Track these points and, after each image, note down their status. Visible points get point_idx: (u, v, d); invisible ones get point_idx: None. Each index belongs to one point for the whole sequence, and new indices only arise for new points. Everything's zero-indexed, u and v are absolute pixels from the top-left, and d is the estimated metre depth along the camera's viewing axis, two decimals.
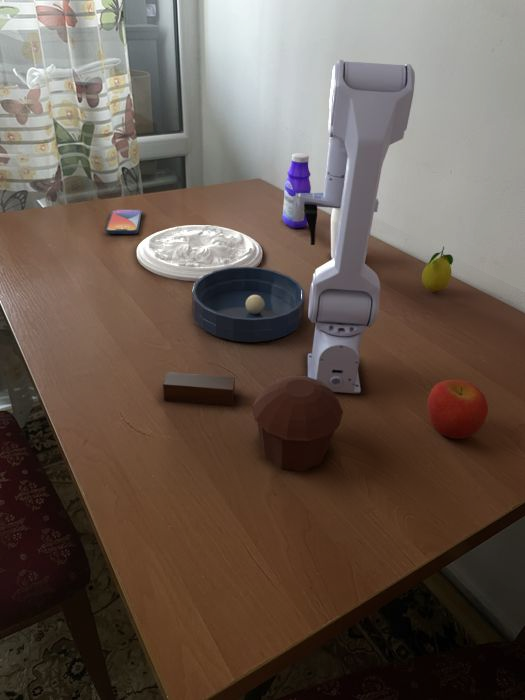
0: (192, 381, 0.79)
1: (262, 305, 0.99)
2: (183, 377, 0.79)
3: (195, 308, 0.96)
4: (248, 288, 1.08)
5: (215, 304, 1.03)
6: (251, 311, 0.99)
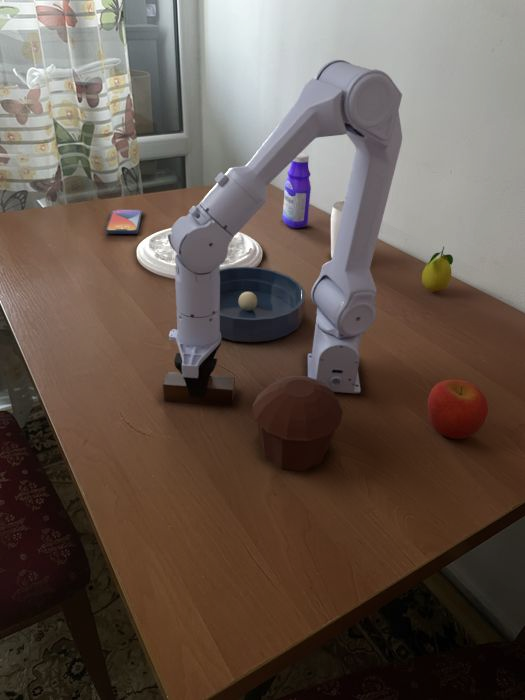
0: None
1: (250, 294, 1.00)
2: None
3: None
4: (248, 288, 1.08)
5: None
6: (245, 305, 0.99)
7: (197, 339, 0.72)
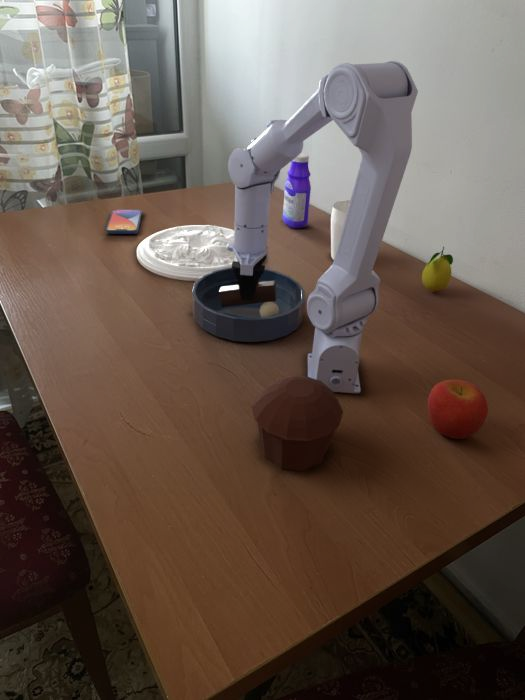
0: None
1: None
2: (234, 286, 0.99)
3: (195, 308, 0.96)
4: None
5: (215, 304, 1.03)
6: (260, 313, 0.98)
7: (251, 247, 0.91)
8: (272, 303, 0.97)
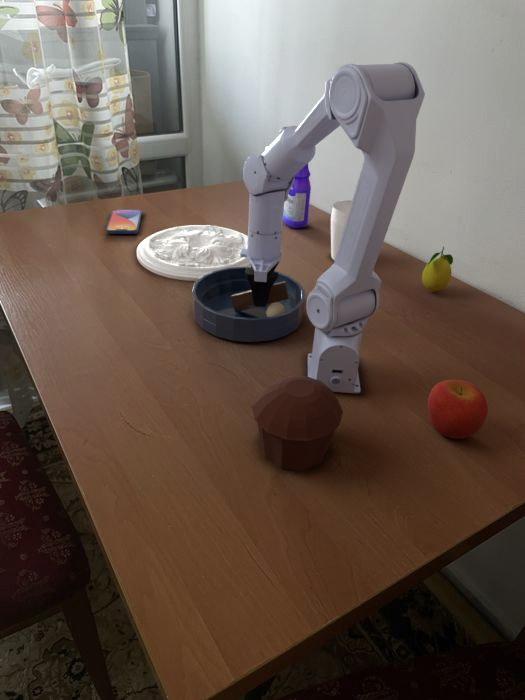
0: None
1: None
2: (246, 291, 0.99)
3: (195, 308, 0.96)
4: (248, 288, 1.08)
5: (215, 304, 1.03)
6: (267, 308, 0.97)
7: (264, 253, 0.91)
8: (283, 308, 0.97)
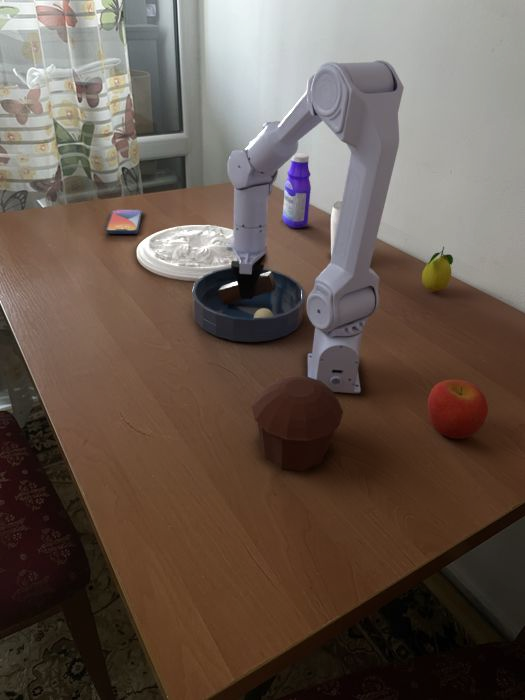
0: None
1: None
2: (233, 283, 1.01)
3: (195, 308, 0.96)
4: None
5: (215, 304, 1.03)
6: None
7: (250, 246, 0.93)
8: None
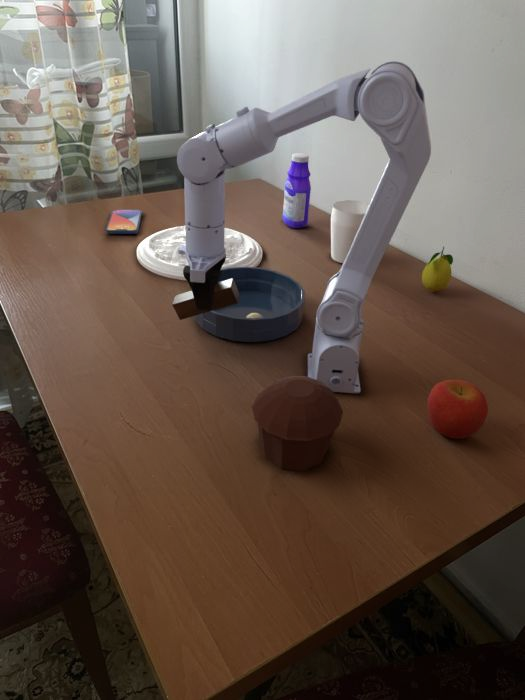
0: None
1: None
2: (189, 294, 0.87)
3: None
4: (248, 288, 1.08)
5: None
6: None
7: (204, 250, 0.79)
8: None
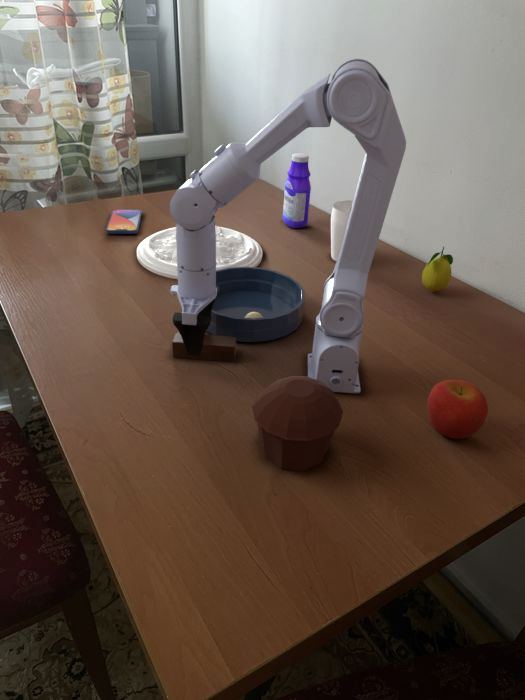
0: None
1: (249, 313, 0.95)
2: None
3: None
4: (248, 288, 1.08)
5: (215, 304, 1.03)
6: None
7: (195, 292, 0.80)
8: None
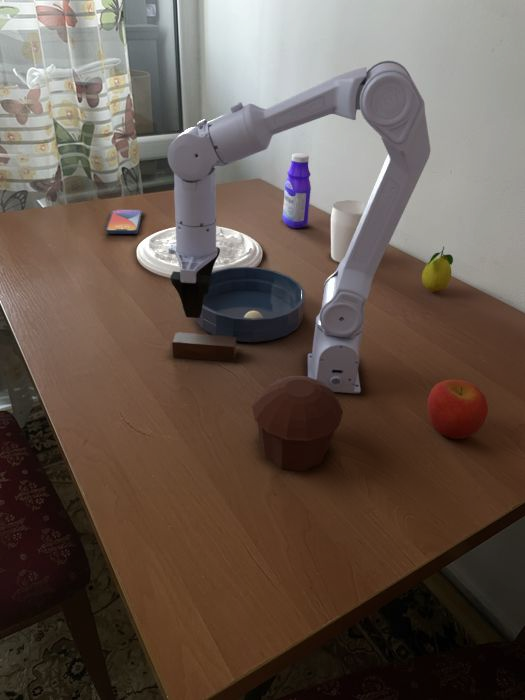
0: (198, 339, 0.88)
1: None
2: (190, 336, 0.89)
3: None
4: (248, 288, 1.08)
5: (215, 304, 1.03)
6: None
7: (195, 249, 0.77)
8: None
